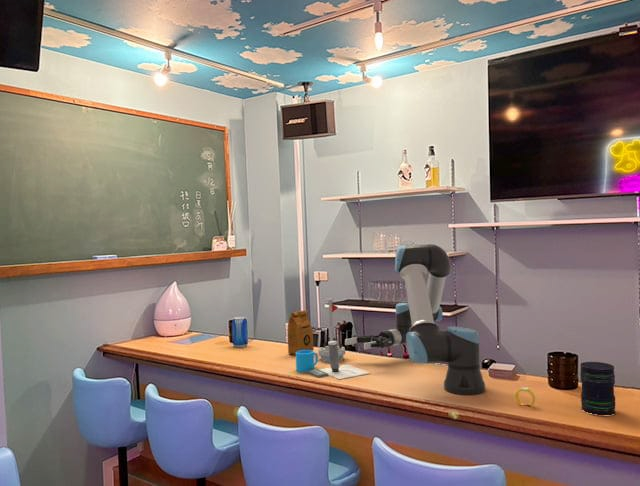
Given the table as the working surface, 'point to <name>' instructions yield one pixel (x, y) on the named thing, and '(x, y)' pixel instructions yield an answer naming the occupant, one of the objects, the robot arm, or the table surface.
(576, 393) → the table surface
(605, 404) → the storage jar
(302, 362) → the mug
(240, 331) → the beer can
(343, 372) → the paper
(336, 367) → the marker
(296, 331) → the coffee package
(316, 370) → the dark grey flat block
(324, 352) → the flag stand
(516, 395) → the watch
